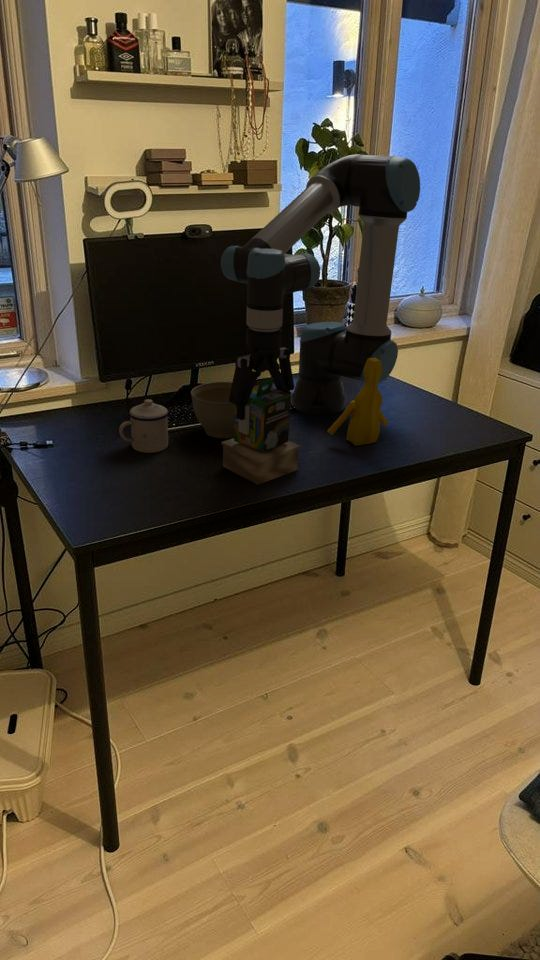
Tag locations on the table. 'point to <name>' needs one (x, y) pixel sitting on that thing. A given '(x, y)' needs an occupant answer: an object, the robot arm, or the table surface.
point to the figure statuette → (364, 408)
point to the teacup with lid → (147, 427)
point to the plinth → (260, 460)
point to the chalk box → (265, 418)
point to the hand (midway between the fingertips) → (261, 427)
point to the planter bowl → (214, 408)
